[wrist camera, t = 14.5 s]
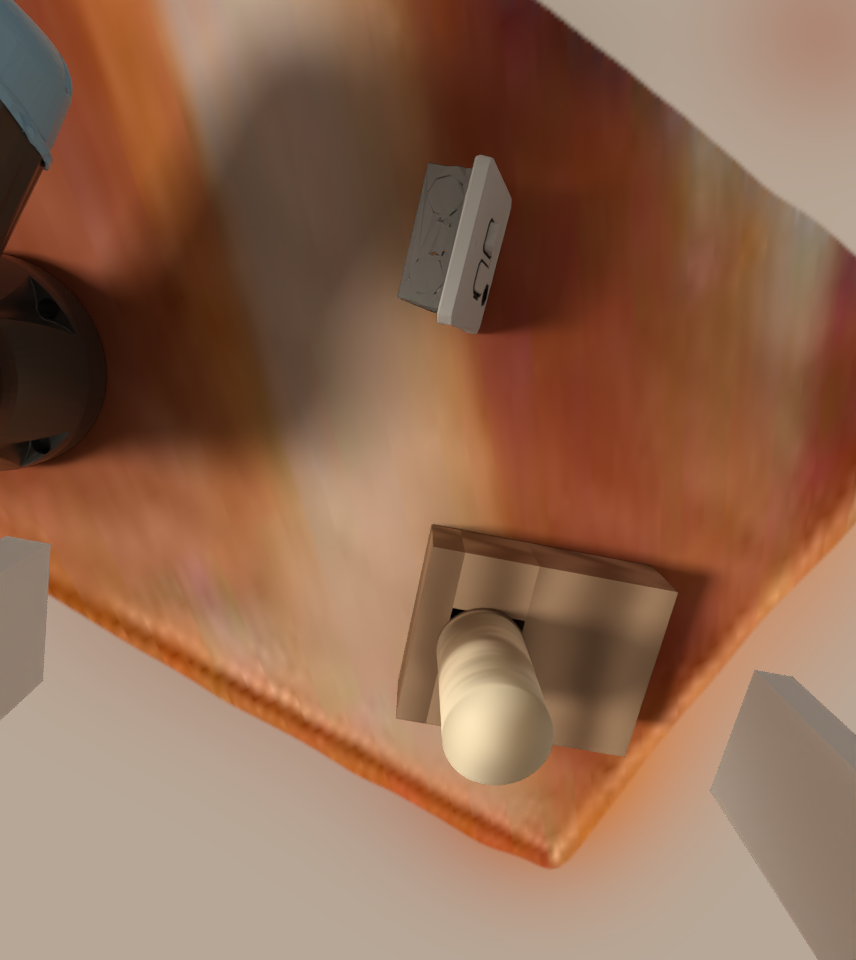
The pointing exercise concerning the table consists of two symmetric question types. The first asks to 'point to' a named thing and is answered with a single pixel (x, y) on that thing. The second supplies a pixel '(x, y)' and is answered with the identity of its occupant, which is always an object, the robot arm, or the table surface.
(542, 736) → the leg peg
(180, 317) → the table surface
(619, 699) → the board
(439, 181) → the electrical switch
